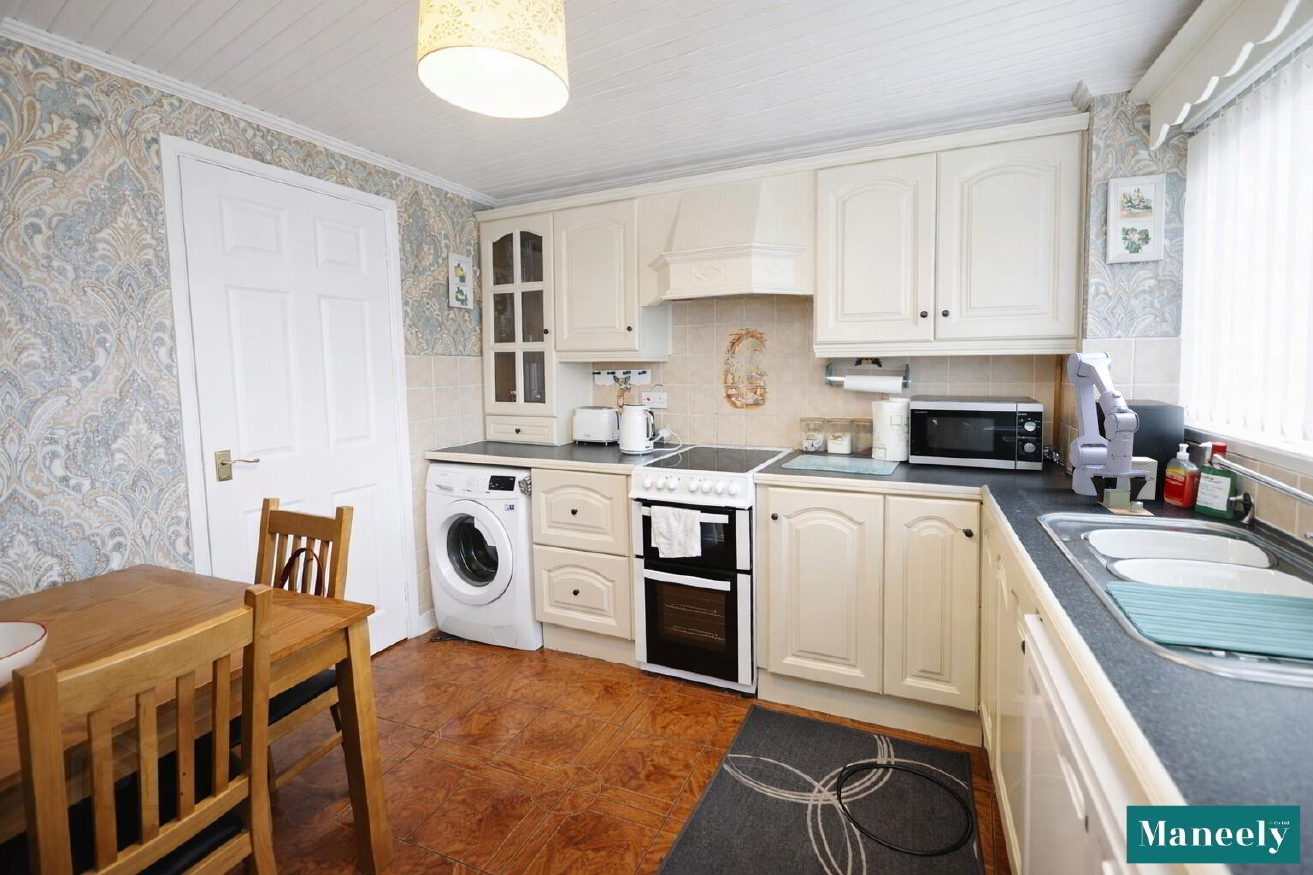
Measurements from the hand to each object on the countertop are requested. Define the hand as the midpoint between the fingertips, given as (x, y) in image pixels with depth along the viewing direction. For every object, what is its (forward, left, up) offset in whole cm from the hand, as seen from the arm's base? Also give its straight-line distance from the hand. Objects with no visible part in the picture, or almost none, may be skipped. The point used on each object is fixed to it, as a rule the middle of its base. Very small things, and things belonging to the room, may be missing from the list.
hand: (1116, 502), depth 180 cm
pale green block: (0, 0, -1) cm, 1 cm away
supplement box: (-12, +8, -2) cm, 15 cm away
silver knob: (+7, +2, -2) cm, 8 cm away
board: (+3, +1, -2) cm, 4 cm away
